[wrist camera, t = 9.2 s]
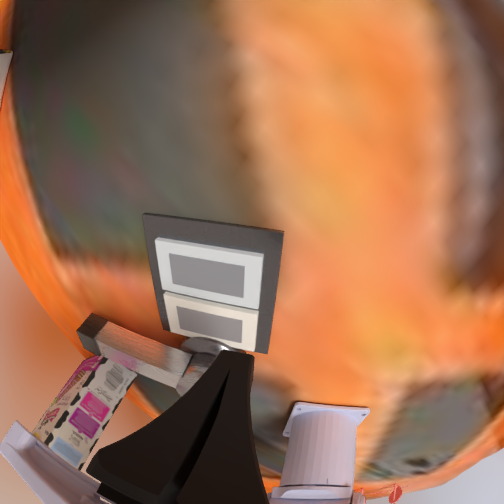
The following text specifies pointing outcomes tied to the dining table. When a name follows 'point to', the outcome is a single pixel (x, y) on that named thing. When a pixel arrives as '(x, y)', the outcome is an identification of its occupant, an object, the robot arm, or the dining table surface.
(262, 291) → the plate
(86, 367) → the candy bar box
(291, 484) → the robot arm
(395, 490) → the figurine
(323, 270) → the dining table surface
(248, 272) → the label
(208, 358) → the door handle
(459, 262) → the dining table surface
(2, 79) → the medicine bottle
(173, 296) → the label
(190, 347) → the pivot base
